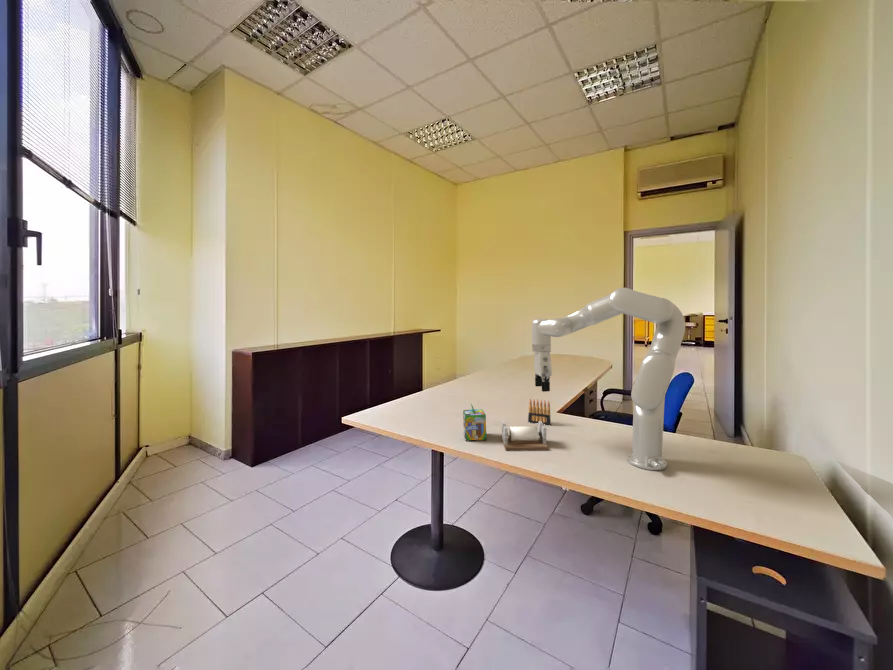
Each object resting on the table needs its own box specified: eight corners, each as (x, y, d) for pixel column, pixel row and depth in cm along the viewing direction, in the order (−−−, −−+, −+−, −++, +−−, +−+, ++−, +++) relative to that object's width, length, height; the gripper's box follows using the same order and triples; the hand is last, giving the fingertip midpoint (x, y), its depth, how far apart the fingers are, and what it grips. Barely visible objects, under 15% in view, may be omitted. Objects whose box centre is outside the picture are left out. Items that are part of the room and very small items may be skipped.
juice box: (486, 440, 151) (486, 407, 150) (465, 441, 151) (465, 408, 149) (483, 433, 160) (482, 401, 159) (463, 433, 160) (462, 402, 159)
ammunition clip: (527, 422, 174) (528, 398, 173) (528, 421, 175) (529, 397, 174) (549, 425, 169) (550, 401, 168) (550, 424, 170) (550, 400, 169)
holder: (548, 450, 140) (548, 430, 139) (505, 450, 140) (505, 430, 140) (539, 437, 154) (539, 419, 153) (500, 437, 154) (500, 419, 154)
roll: (538, 443, 144) (538, 428, 144) (511, 443, 144) (511, 429, 144) (535, 438, 150) (535, 424, 150) (508, 438, 150) (508, 424, 150)
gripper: (557, 350, 138) (558, 393, 139) (544, 346, 155) (545, 384, 156) (538, 351, 138) (539, 393, 139) (527, 346, 155) (528, 384, 156)
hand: (542, 388), depth 148 cm, fingers open, 9 cm apart
